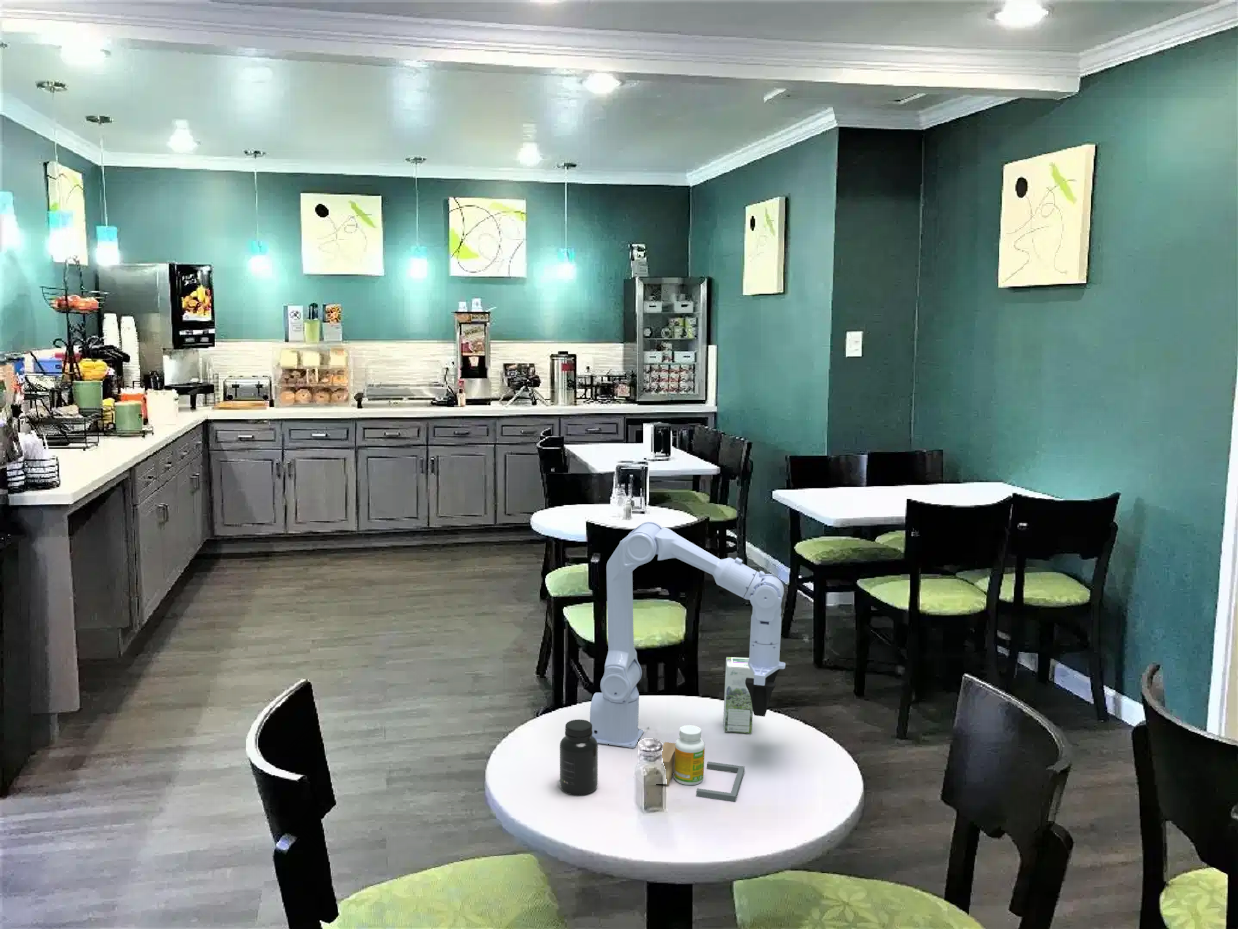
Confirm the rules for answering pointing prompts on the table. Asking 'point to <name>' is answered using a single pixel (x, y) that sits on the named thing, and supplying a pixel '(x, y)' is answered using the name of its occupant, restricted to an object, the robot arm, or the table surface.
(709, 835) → the table surface
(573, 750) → the supplement bottle
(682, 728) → the supplement bottle
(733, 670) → the syrup box
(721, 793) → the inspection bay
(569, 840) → the table surface
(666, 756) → the bar
